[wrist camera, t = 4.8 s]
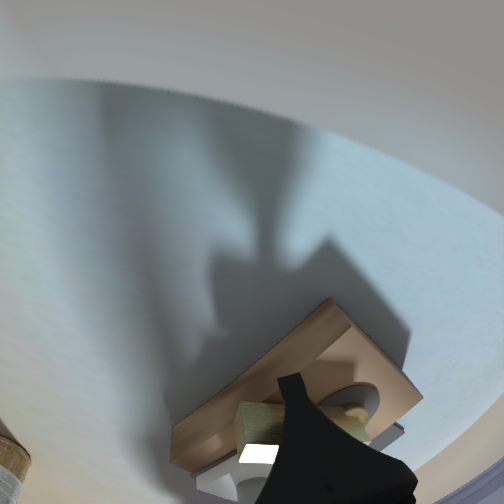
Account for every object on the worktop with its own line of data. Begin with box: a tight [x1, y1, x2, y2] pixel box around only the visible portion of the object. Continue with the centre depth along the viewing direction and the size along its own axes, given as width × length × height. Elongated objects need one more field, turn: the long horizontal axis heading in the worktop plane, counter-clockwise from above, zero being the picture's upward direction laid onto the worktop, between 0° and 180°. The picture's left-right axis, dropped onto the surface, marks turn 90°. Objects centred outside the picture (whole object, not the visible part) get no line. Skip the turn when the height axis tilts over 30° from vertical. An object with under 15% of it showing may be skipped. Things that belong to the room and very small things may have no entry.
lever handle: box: [234, 401, 371, 463], centre depth 12 cm, size 7×2×3 cm, turn 75°
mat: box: [368, 424, 405, 452], centre depth 20 cm, size 8×7×1 cm
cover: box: [196, 454, 273, 504], centre depth 13 cm, size 5×5×4 cm
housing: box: [170, 297, 424, 478], centre depth 16 cm, size 13×9×3 cm
